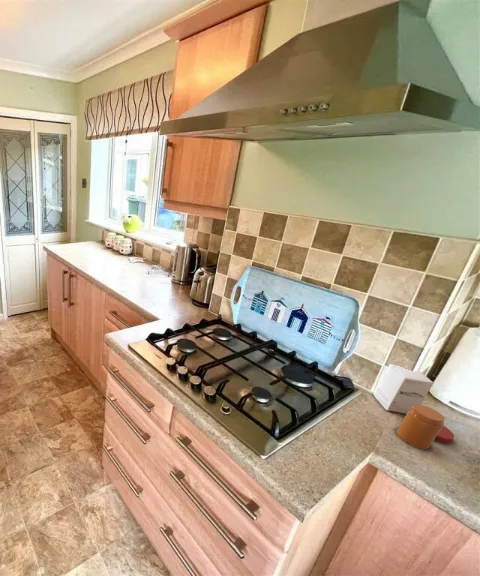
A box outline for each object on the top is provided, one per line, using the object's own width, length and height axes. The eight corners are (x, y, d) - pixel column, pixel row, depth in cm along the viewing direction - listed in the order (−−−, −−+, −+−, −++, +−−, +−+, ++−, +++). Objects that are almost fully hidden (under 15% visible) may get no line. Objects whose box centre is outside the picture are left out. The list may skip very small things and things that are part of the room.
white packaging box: (386, 411, 94) (404, 377, 89) (372, 394, 100) (388, 363, 95) (414, 416, 92) (434, 383, 87) (398, 399, 99) (416, 367, 94)
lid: (413, 430, 87) (416, 425, 86) (418, 419, 91) (421, 414, 91) (449, 448, 82) (453, 443, 81) (453, 435, 86) (456, 431, 85)
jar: (426, 437, 85) (443, 411, 81) (431, 453, 80) (449, 426, 76) (395, 425, 88) (410, 399, 85) (398, 439, 84) (413, 413, 80)
